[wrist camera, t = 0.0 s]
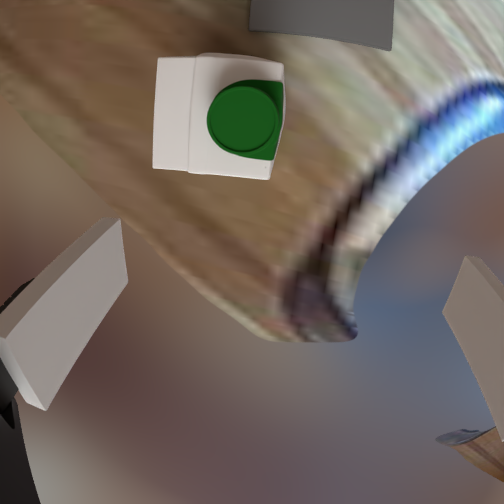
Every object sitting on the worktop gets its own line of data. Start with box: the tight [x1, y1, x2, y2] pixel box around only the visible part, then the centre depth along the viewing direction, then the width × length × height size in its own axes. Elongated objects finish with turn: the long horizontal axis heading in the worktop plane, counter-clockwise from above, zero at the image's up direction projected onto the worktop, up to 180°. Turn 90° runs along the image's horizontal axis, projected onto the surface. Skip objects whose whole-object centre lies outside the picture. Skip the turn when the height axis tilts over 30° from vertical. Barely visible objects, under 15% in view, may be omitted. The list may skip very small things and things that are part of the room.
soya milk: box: [153, 53, 286, 180], centre depth 25 cm, size 9×9×20 cm
